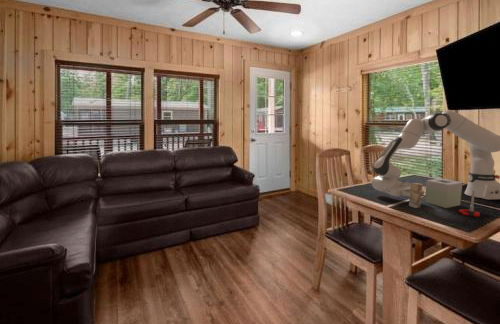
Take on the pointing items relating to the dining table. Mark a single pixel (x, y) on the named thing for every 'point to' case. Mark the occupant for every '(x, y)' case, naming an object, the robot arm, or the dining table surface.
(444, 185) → the white tissue box
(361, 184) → the dining table surface
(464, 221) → the dining table surface
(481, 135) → the robot arm
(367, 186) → the dining table surface
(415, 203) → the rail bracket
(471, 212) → the red base grey post
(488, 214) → the dining table surface
